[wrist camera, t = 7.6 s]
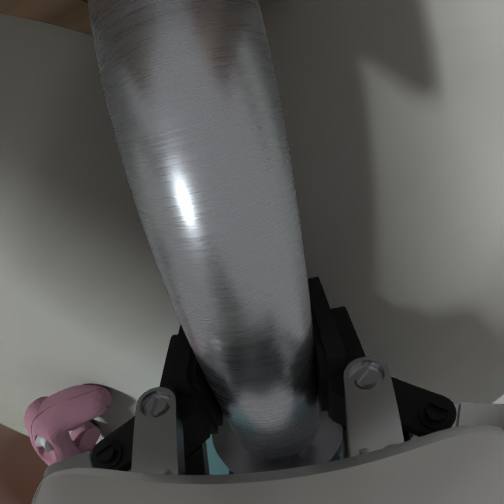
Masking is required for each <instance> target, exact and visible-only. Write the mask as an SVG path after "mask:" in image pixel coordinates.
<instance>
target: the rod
mask: <svg viewBox="0 0 504 504" xmlns="http://www.w3.org/2000/svg"><path fill="white" fill-rule="evenodd" d="M87 2H88V9H89V16H90V23H91V29H92V35H93V41H94V47H95V52H96V57H97V63H98V68H99V72H100V77H101V82H102V86H103V91H104V95H105V99H106V104H107V108H108V112H109V116H110V120H111V124H112V128H113V131H114V135H115V139H116V143H117V146H118V150H119V153H120V157H121V160H122V164H123V167H124V170H125V174H126V177H127V180H128V183H129V187H130V190H131V193H132V196H133V199H134V202H135V205H136V208H137V211H138V214H139V217H140V220H141V223H142V226H143V229H144V232H145V234H146V237H147V240H148V243H149V245H150V248H151V251H152V254H153V256H154V259H155V262H156V264H157V267H158V269H159V272H160V275H161V277H162V280H163V282H164V285H165V287H166V290H167V292H168V295H169V297H170V299H171V302H172V304H173V307H174V309H175V311H176V314H177V316H178V318H179V321H180V323H181V325H182V328H183V330H184V332H185V334H186V337H187V339H188V341H189V343H190V346H191V348H192V350H193V352H194V354H195V356H196V359H197V361H198V363H199V365H200V367H201V369H202V371H203V373H204V375H205V377H206V380H207V382H208V384H209V386H210V388H211V390H212V392H213V394H214V396H215V398H216V400H217V401H218V403H219V405H220V407H221V409H222V411H223V425H222V426H218V434H212V441H213V445H214V448H215V450H216V452H217V454H218V456H219V457H220V458H221V460H222V461H223V462H224V464H225V465H226V466H227V467H228V469H229V470H230V471H231V472H232V473H233V474H242V473H255V472H266V471H275V470H283V469H290V468H297V467H303V466H309V465H315V464H320V463H325V462H330V461H335V460H336V458H337V456H338V455H339V453H340V450H341V447H342V431H341V425H340V424H338V423H336V422H334V421H332V418H329V416H328V412H327V411H323V412H322V410H321V406H320V401H319V396H318V386H317V372H316V360H315V348H314V336H313V325H312V315H311V305H310V296H309V287H308V278H307V269H306V261H305V253H304V245H303V238H302V230H301V223H300V216H299V209H298V202H297V195H296V188H295V182H294V176H293V169H292V163H291V157H290V151H289V145H288V139H287V134H286V128H285V122H284V117H283V112H282V106H281V101H280V96H279V91H278V86H277V81H276V76H275V71H274V66H273V61H272V57H271V52H270V47H269V43H268V38H267V34H266V30H265V25H264V21H263V17H262V12H261V8H260V4H259V0H87Z"/></svg>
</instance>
